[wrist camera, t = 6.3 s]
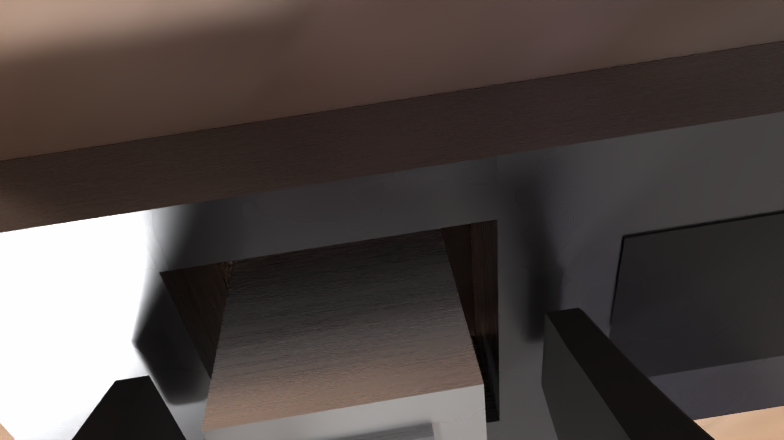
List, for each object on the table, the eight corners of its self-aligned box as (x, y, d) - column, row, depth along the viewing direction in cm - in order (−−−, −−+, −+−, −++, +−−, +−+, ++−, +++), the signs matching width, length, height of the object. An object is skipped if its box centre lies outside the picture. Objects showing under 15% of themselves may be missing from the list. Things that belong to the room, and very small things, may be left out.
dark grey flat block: (892, 24, 11) (1029, 75, 9) (774, 319, 15) (844, 398, 13) (-59, 170, 11) (-151, 257, 8) (116, 423, 15) (84, 519, 13)
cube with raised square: (429, 191, 12) (486, 392, 8) (443, 321, 14) (493, 530, 10) (241, 221, 12) (198, 441, 8) (287, 348, 14) (272, 568, 10)
